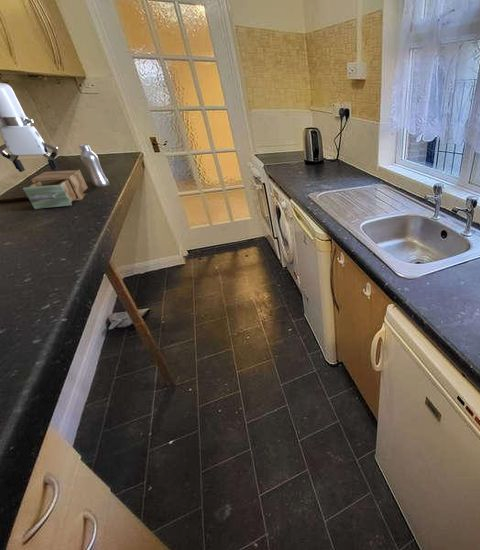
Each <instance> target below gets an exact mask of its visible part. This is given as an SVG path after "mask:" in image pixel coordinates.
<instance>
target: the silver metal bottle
mask: <svg viewBox="0 0 480 550" xmlns="http://www.w3.org/2000/svg"><path fill="white" fill-rule="evenodd" d="M78 147H79V150H80V152H81V153H80V160H81V161H82V163H83V164H84V166H85V167H86V169H87V171H88V174H89V176H90V180H91V183H92V185H93V186H94V187H96V188H98V187H99V188H103V187H108V186H110V180H108V178H107V176H106V174H105V173H104V171H103V169H102V166H101V162H100V159H99V157H98V155H97V154H96V153H95V152H94V151H93V150H91V147H90V145H89V144H79V145H78Z"/></svg>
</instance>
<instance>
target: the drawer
mask: <svg viewBox="0 0 480 550" xmlns="http://www.w3.org/2000/svg"><path fill="white" fill-rule="evenodd" d="M22 190H23V192H24V194H25V195H26V197H27V198H28V200H29V202H30V203H31V205H32V207H33V208H34V210H38V209H47V208H48V209H49V208H57V207H58V208H59V207H69V206H72V205H73V203H72V202H73V201H75V200H74V199H75V198H76V197H77V194H76V192H75V190H74V188H73V186H72V184H71V182H70V180H69V179H57V180H44V181H37V182H35V183H34V184H33V183H32V184H30V185H28V186H24V187H22Z"/></svg>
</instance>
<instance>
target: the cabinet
mask: <svg viewBox="0 0 480 550" xmlns="http://www.w3.org/2000/svg"><path fill="white" fill-rule="evenodd" d="M57 179H69V180H70V182H71V184H72V186H73V188H74V190H75V192H76V194H77V197H76V198H75V199H74V200H73V201H81V200H83V199H84V198H85V197H86V196H87V195H88V194H89V192H86V190H87V189H88V188H89V186H88V184H87V183H86V180H85V178H84V176H83V174H82V172H81V170H80V169H73V170H72V169H71V170H53V171H43V172H41V173H39V174H38V175H36V176H35V177H32V178H31V179H30V180H31V182H32V184H34V183H35V182H37V181H44V180H57ZM86 194H87V195H86ZM85 195H86V196H85ZM84 196H85V197H84Z"/></svg>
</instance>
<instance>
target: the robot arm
mask: <svg viewBox="0 0 480 550" xmlns="http://www.w3.org/2000/svg"><path fill="white" fill-rule="evenodd" d="M31 124H34V120H33V119H32V118H28V117H27V116H26V114H25V112H24V110H23V108H22V106H21V103H20V101H19V99H18V97H17V96H16V94H15V91H14V89H13V88H12V86H11V85H9V84H8V83H4V82H0V135H1V138H2V140H3V143H4V144H2V145H0V155H1V156H2V157H4V158H6V159H8V160H9V161H10V162H12V163H13V166H14V168H15V169H16V170H18V172H19V173H23V172H24V171H26V169H25V167H24V165H23V163H22V161H21V160H20V159H18V158H19V156H20V157H23V156H27V157H28V156H43V157H45V158H46V159H47V163H48V164H49V167H50V168H51V171H57V170H58V164H57V161H56V160H55V158H56V157H57V156H58V153H59V152H58V151H59V147H58V146H55V145H52V144H50V143H46V142H45V141H44V139H43V138H42V135H41V134H40V132H39V131H38V130H37V128H36V127H35V126H34V125H31ZM6 149H7V152H6V151H5V150H6ZM49 149H50V150H51V151H52V152H51V153H50V152H49ZM8 152H9V153H8Z"/></svg>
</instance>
